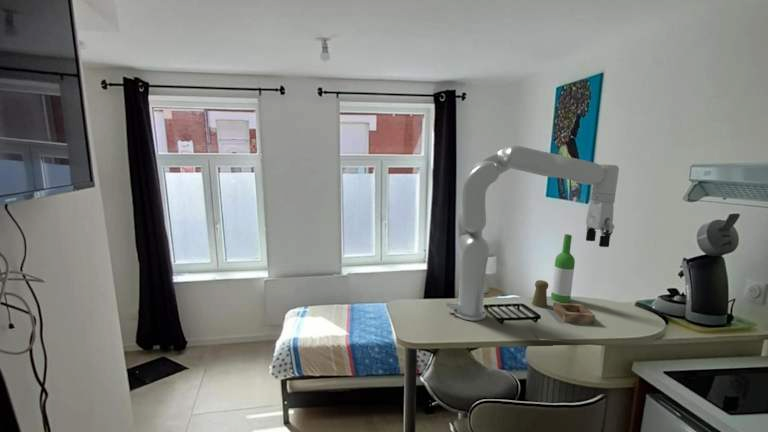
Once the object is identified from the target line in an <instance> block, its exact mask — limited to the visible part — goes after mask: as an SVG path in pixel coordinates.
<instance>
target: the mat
mask: <svg viewBox="0 0 768 432" xmlns="http://www.w3.org/2000/svg"><path fill="white" fill-rule="evenodd" d="M545 310H546V311H547V313H549V315H551V317H552V318H553V319H554V320H556V322H557V323H558V324H567V325H568V324H569V325H581V326H582V325H583V326H596V327H597V324H595V323H594V324H584V323H569V322H564V321H563V320H562V319H561V318H560V317H559V316H558V315H557V314H556V313H555V312H554V311H553V309H547V308H545Z"/></svg>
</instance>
